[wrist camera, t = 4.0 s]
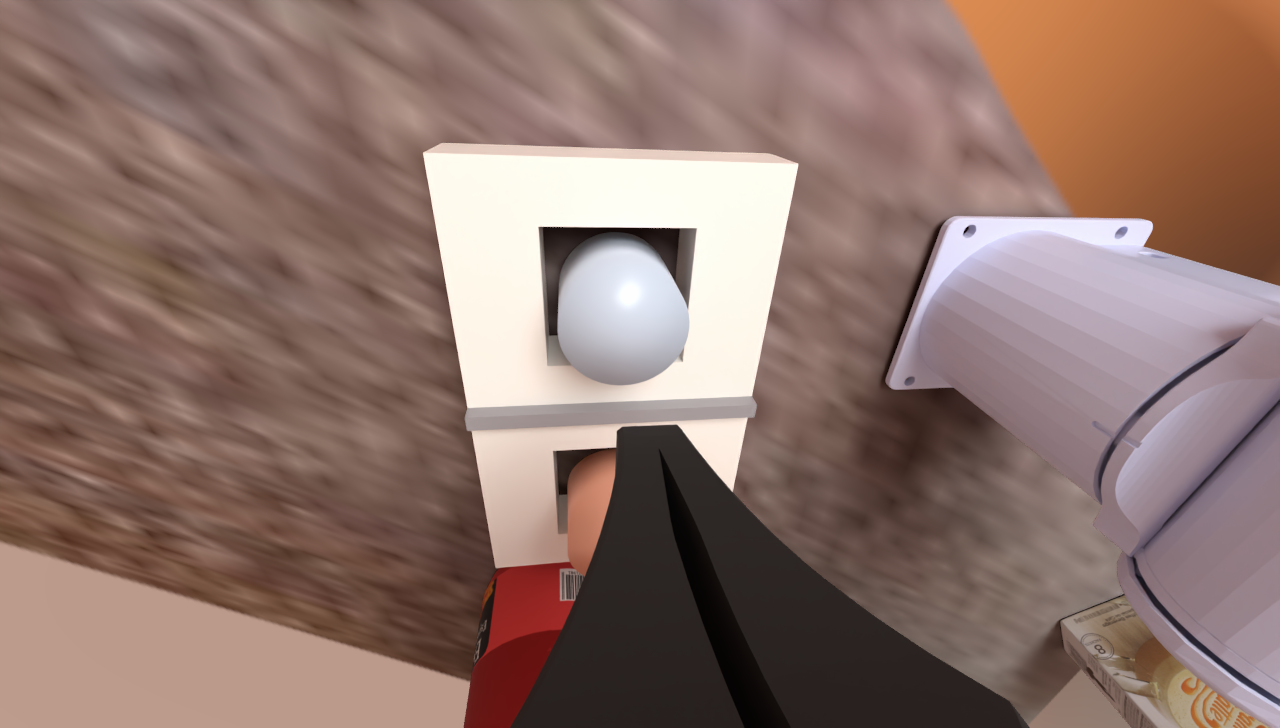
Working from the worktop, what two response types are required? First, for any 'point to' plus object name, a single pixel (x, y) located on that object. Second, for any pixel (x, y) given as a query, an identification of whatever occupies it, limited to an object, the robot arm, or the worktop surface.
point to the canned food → (517, 638)
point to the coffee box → (1143, 672)
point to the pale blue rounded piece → (619, 310)
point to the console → (532, 360)
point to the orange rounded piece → (588, 505)
